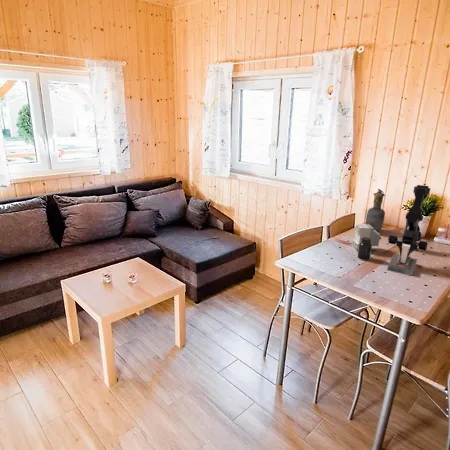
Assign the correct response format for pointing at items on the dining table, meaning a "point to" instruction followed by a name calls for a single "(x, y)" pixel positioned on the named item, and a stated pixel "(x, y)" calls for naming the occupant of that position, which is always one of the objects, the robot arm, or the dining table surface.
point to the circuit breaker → (365, 235)
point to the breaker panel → (402, 265)
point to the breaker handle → (404, 252)
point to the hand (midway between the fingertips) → (403, 256)
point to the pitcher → (376, 212)
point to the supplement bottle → (365, 249)
